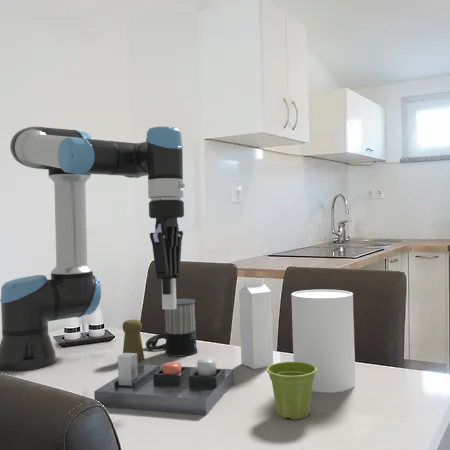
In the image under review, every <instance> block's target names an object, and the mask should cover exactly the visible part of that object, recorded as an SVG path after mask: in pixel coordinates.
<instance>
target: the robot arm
mask: <svg viewBox="0 0 450 450" xmlns="http://www.w3.org/2000/svg"><path fill="white" fill-rule="evenodd" d="M9 145H10V147H9V148H10V152H11V155H12V157H13V158H14V160H16V162H18V163H19V164H20V165H22V166H23V167H24V166H25V167H27V168H32V169H38V170H48V178H49V179H50V180H51V181H52V182H53V183H54V187H53V188H54V218H55V219H54V225H55V226H54V228H55V263H56V264H55V267H54V268H53V269H52V270H51V271H50V279H48V277H47V276H46V275H44V274H37V275H36V274H35V275H32V276H31V275H29V276H23V277H17V278H15V279H14V278H13V279H11V280H8V281H6V282H5V283H3V285H2V286H1V288H0V289H1V290H0V293H1V294H0V308H1V339H0V340H1V341H0V371H3V372H4V371H5V372H20V371H30V370H35V369H40V368H44V367H47V366H49V365H51V364H54V363H55V362H56V361H57V360H56V359H57V358H56V356H57V353H56V349H54V346H53V342H52V340H51V337H50V335H49V322H54V321H60V320H65V319H72V318H81V317H85V316H90V315H92V314H93V313H95V311H96V310H97V309H98V308H99V305H100V303H101V298H102V284H100V283H101V282H100V279H99V277H98V276H97V275H95V274H94V271H93V269H92V268H91V267H90V266H89V265H88V248H87V247H88V244H87V243H88V240H87V238H88V237H87V234H88V233H87V204H86V203H87V200H86V198H87V197H86V193H87V192H86V183H87V181H88V180H89V179H90V178H91V175H107V176H123V177H125V178H127V179H128V178H130V179H133V178H134V179H135V178H136V179H137V178H139V179H140V178H141V177H145V176H146V177H147V190H148V191H147V194H148V195H147V196H148V199H150V201H149V202H148V216H149V219H150V218H151V219H155V224H154V232H150V233H149V239H150V242H151V245H152V254H153V261H154V267H155V276H156V279H157V280H161V307H162V308H161V310H165V309H170V310H174V309H176V308H177V305H176V299H177V279H179V278H181V274H180V273H181V260H182V259H181V257H182V241H183V235H184V232H183V231H182V230H180V228H179V223H178V219H179V218H183V217H184V216H185V205H184V204H185V202H184V201H183V198H184V188H185V187H186V184H185V183H184V177H183V176H184V173H183V172H184V169H183V163H184V162H183V159H184V158H183V157H184V156H183V148H184V145H183V141H182V132H181V131H180V129H178V128H176V127H173V126H154V127H150V128H149V129H148V130H147V132H146V139H145V141H142V142H129V141H128V142H127V141H126V142H125V141H116V140H104V139H95V138H93V136H92V135H91V134H90V133H88V132H86V131H80V130H76V129H67V128H65V129H64V128H56V127H55V128H54V127H44V126H29V127H25V128H22V129H20V130H18V131H16V133H15V134H14V135H13V136H12V138H11V141H10V144H9Z"/></svg>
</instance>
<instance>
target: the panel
mask: <svg viewBox="0 0 450 450" xmlns="http://www.w3.org/2000/svg"><path fill="white" fill-rule="evenodd" d="M162 365H163V364H162ZM162 365H161V364H160V365H158V364H142V363H141V364H140V363H138V380H136V381H135V382H133V383H132V386H126V385H119V381H118V376H117V377H115V378H113V379H112V380H111V381H108V382H107V383H106V384H103V385H102V386H100V387H99V388H97V389H96V390H94V392H93V393H94V396H93V397H94V401H95V400H97V401H99V402H100V403H101V404H102V405H104V406H105V407H104V408H116V409H118V408H119V409H125V410H127V409H128V410H141V411H153V412H165V413H178V414H186V415H188V414H189V415H200V416H202V415H203V416H207V415H208V414H209V412H210V411H211V410H212V409H213V407H215V406H216V404H218V402H219V401H220V399H222V397H223V396H224V395H225V394H226V393H227V392H228V390H230V388H231V386H233V385H234V384H235V371H234V370H235V369H234V368H219V367H218V368H217V367H216V371H217V375H216V376H215V377H210V376H198V369H197V366H196V367H195V366H181V373H180V374H178V375H176V374H163V368H162Z"/></svg>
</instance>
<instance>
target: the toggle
mask: <svg viewBox="0 0 450 450" xmlns="http://www.w3.org/2000/svg"><path fill="white" fill-rule="evenodd" d="M138 364H139V363H137V353H123V352H122V353H121V354H119V355H118V356H117V374H118V375H117V377H118V381H119V385H126V386H132V383H133V382H135V381H136V380H138Z"/></svg>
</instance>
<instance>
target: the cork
mask: <svg viewBox="0 0 450 450" xmlns="http://www.w3.org/2000/svg"><path fill="white" fill-rule="evenodd" d="M142 329H143V323H142V322H141V320H139V319H127V320H125V321H123V322H122V330H123V333H124V335H123V336H124V338H123V346H122V347H123V348H122V354H123V353H137V363H138V364H140V363H143V362H144V361H145V354H144V348H143V342H142V336H141V335H142V334H141V331H142Z"/></svg>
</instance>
